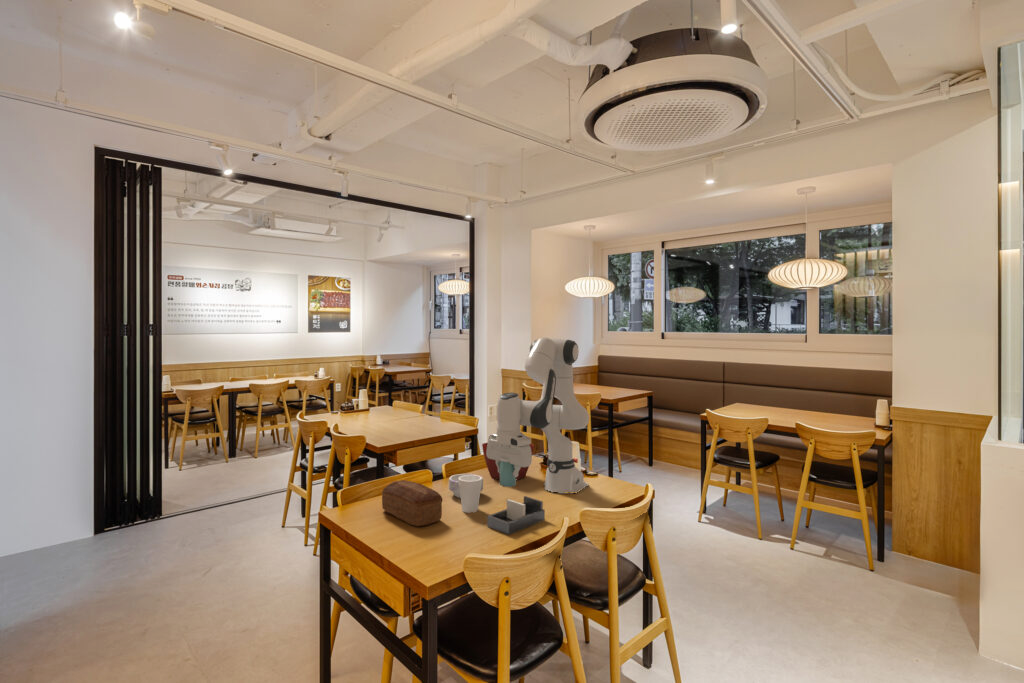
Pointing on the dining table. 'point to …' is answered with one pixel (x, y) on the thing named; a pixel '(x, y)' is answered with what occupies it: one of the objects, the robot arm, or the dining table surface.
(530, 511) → the grey open box
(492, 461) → the plant pot
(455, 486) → the pale lilac bowl
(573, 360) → the robot arm
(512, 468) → the jar
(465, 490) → the foam cup
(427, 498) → the bread
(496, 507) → the dining table surface
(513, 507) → the plate
